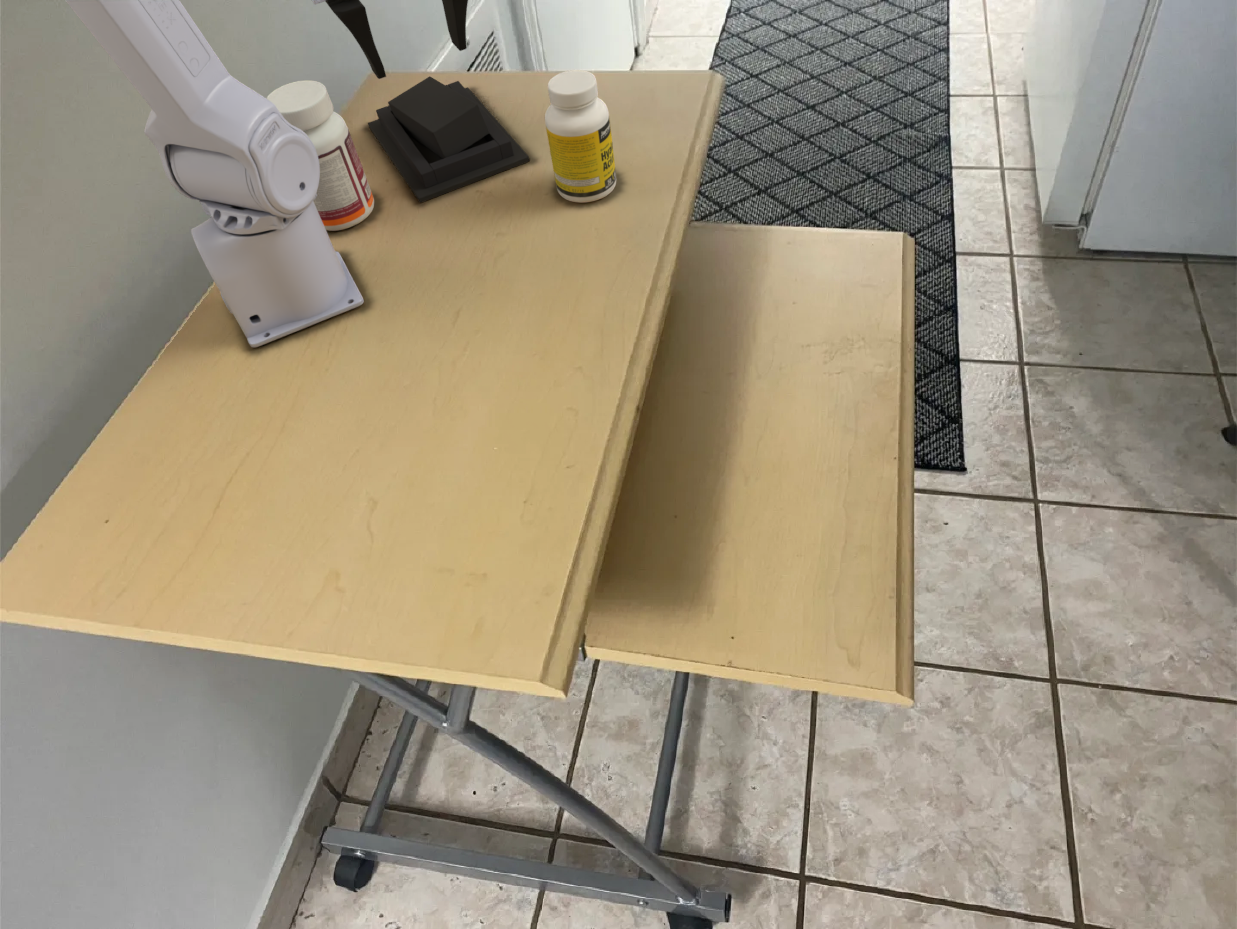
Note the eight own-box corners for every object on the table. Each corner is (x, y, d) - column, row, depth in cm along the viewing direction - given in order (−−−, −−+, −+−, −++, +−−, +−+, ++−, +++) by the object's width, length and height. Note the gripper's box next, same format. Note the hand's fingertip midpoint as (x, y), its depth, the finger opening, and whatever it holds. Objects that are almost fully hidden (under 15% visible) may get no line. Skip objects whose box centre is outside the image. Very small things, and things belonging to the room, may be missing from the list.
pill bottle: (337, 187, 85) (290, 71, 76) (389, 199, 83) (347, 81, 74) (295, 226, 82) (241, 109, 73) (348, 239, 80) (299, 120, 71)
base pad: (530, 161, 84) (526, 141, 83) (420, 203, 82) (413, 184, 80) (468, 91, 94) (464, 72, 92) (368, 127, 92) (362, 108, 90)
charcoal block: (490, 133, 84) (477, 103, 82) (446, 161, 83) (432, 132, 81) (442, 103, 91) (429, 75, 88) (401, 129, 90) (387, 101, 87)
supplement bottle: (617, 202, 79) (603, 95, 71) (555, 207, 79) (535, 102, 72) (618, 166, 82) (605, 61, 75) (559, 172, 83) (540, 68, 75)
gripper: (440, -150, 74) (478, 17, 85) (268, -100, 71) (330, 68, 81) (470, -128, 70) (507, 46, 80) (290, -73, 67) (352, 100, 77)
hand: (419, 59), depth 81 cm, fingers open, 7 cm apart
